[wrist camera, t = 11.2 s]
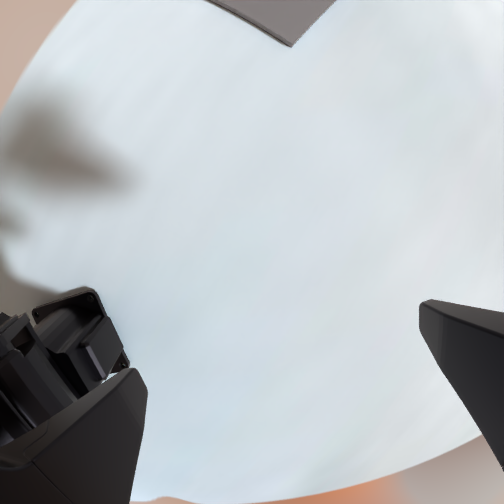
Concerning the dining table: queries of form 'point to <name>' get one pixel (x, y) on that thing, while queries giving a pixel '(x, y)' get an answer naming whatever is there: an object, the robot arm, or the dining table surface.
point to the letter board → (279, 15)
